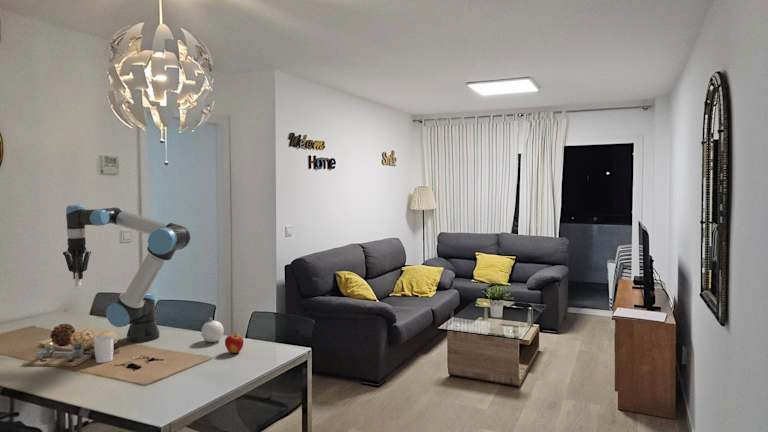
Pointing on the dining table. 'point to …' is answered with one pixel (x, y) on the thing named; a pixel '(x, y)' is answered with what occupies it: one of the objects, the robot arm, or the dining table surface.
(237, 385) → the dining table surface
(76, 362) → the jig board
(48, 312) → the dining table surface
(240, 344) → the apple
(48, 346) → the sliding leg
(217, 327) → the ornament
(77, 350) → the dividers beam
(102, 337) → the white cup
